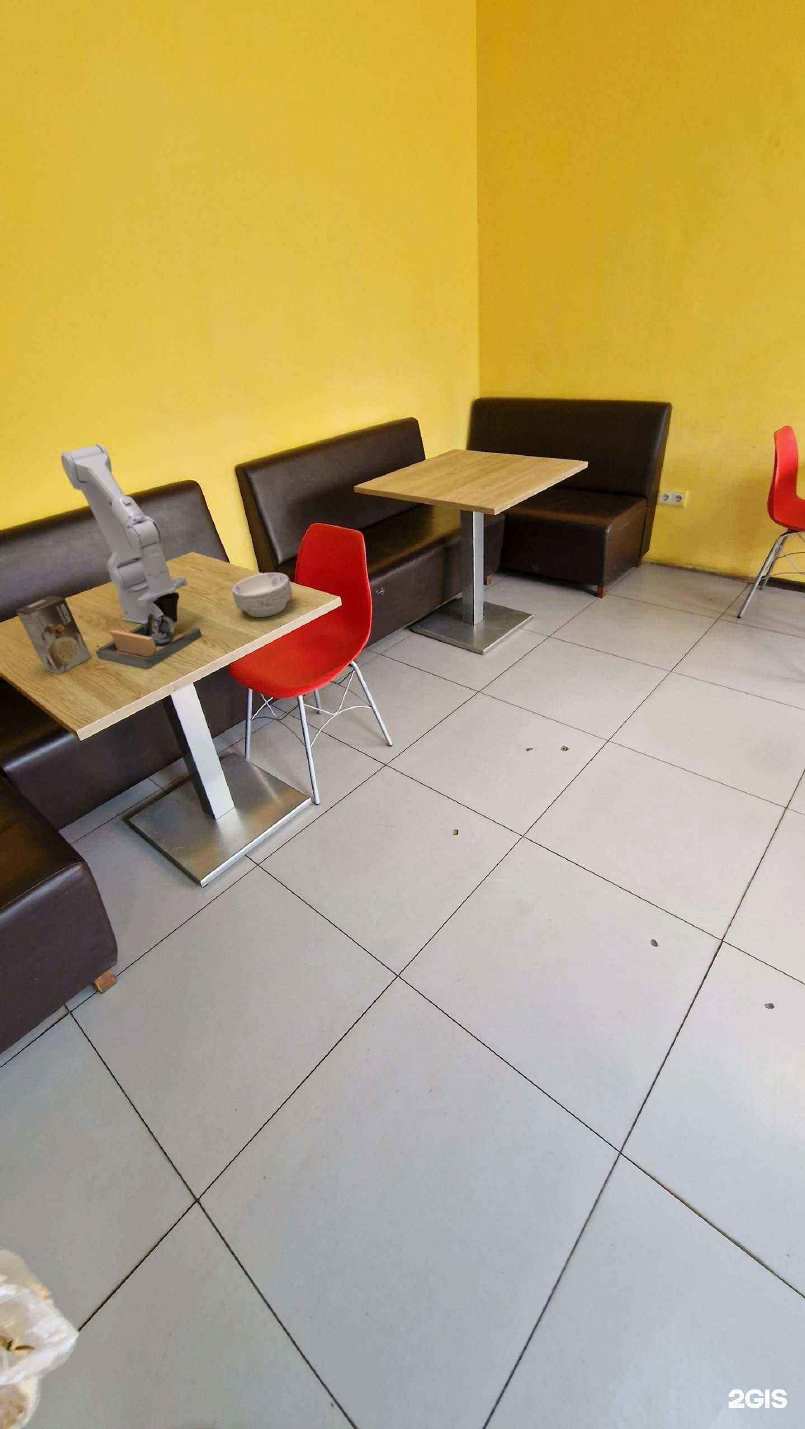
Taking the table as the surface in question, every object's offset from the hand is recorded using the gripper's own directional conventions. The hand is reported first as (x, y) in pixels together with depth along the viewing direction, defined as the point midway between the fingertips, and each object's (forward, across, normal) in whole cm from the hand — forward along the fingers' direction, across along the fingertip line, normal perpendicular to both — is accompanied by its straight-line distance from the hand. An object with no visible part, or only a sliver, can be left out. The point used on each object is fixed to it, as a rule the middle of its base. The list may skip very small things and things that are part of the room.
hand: (173, 621), depth 162 cm
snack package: (+3, -4, +1) cm, 5 cm away
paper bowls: (+3, +18, -16) cm, 24 cm away
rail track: (+3, -8, 0) cm, 8 cm away
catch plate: (+3, -13, 0) cm, 13 cm away
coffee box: (+3, -23, +14) cm, 27 cm away
